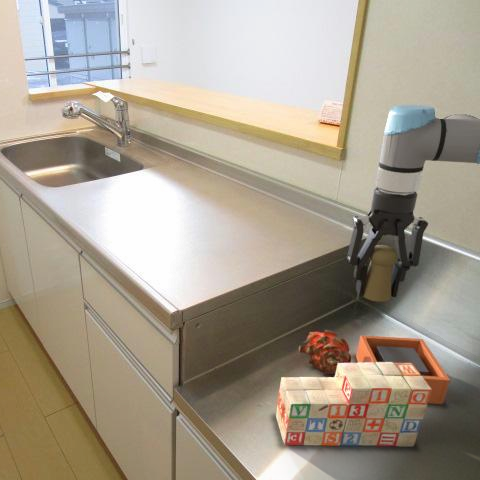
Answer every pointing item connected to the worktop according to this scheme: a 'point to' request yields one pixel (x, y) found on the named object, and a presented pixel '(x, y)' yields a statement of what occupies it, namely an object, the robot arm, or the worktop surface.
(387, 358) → the grey block
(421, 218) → the robot arm
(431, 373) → the crate
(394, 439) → the stack of blocks
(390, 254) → the cork
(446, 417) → the worktop surface
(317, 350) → the dragon fruit
